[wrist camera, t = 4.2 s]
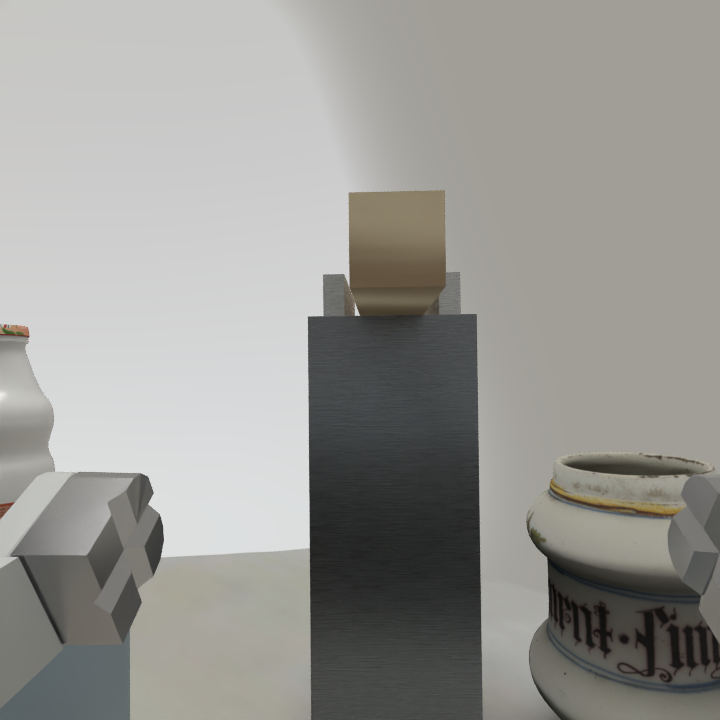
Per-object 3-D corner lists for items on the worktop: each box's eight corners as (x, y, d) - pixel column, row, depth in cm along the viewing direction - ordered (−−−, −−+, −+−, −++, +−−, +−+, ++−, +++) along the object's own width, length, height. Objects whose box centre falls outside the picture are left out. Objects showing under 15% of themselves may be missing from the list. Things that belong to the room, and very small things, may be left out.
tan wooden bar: (446, 286, 16) (444, 190, 16) (349, 287, 16) (348, 192, 16) (408, 334, 38) (407, 293, 38) (367, 334, 38) (366, 293, 38)
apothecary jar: (494, 721, 35) (490, 449, 35) (648, 694, 37) (643, 442, 38) (625, 901, 23) (617, 489, 23) (836, 842, 26) (825, 474, 26)
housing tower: (484, 874, 24) (476, 272, 25) (312, 870, 25) (307, 275, 25) (450, 707, 36) (444, 304, 37) (334, 706, 37) (331, 305, 37)
